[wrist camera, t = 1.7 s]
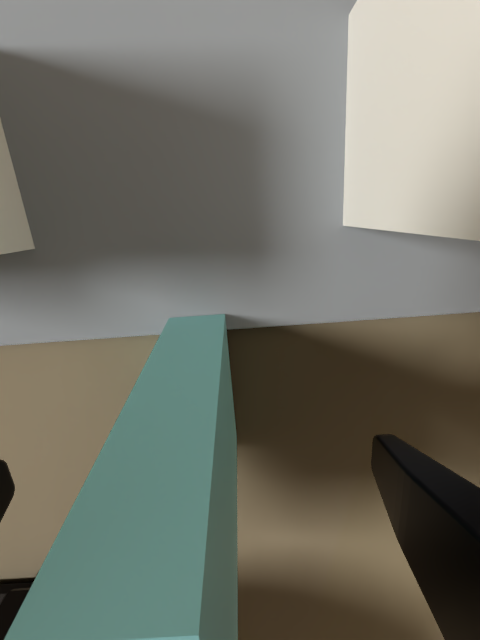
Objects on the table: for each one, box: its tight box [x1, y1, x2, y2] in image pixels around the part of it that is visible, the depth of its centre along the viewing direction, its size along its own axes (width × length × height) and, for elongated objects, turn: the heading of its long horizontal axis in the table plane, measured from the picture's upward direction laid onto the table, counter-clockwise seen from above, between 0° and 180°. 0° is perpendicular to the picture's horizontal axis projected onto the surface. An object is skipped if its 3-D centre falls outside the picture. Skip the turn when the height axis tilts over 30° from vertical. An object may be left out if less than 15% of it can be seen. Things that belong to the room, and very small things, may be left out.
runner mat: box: [0, 0, 480, 346], centre depth 9 cm, size 11×37×1 cm, turn 94°
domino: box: [4, 314, 238, 640], centre depth 8 cm, size 2×5×8 cm, turn 4°
